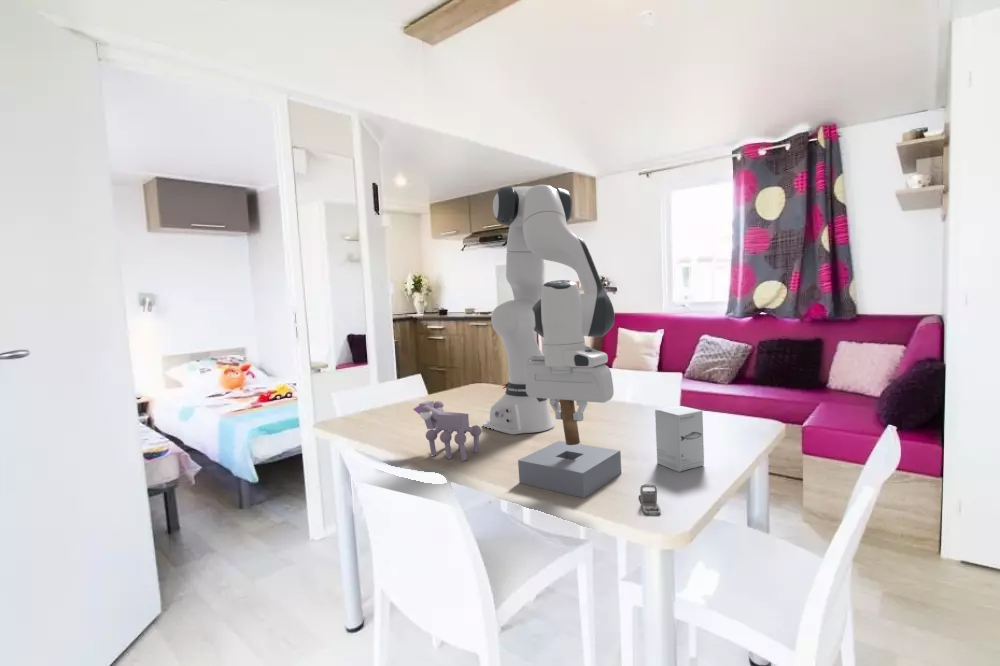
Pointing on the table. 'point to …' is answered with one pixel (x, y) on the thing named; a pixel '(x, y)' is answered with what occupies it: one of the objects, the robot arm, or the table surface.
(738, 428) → the table surface
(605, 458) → the hole block
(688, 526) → the table surface
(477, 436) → the toy sheep
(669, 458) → the supplement box
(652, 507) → the strap clip
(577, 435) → the walnut peg
